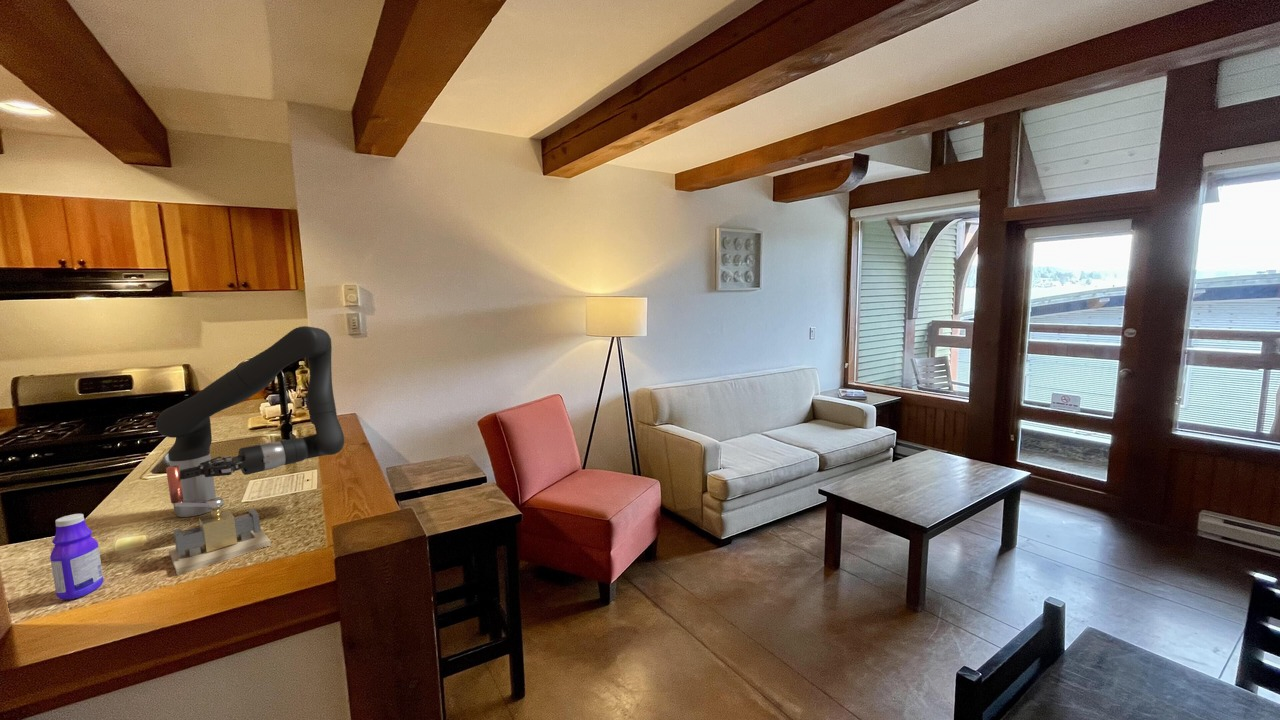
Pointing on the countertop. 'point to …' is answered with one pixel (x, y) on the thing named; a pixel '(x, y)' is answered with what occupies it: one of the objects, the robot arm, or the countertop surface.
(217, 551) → the valve board
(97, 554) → the bottle
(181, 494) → the valve lever
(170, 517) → the countertop surface
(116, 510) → the countertop surface
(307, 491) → the countertop surface
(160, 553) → the countertop surface
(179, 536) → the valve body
